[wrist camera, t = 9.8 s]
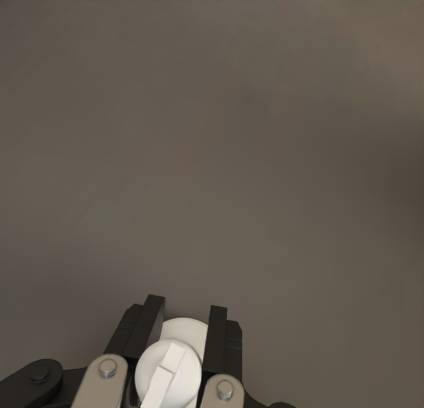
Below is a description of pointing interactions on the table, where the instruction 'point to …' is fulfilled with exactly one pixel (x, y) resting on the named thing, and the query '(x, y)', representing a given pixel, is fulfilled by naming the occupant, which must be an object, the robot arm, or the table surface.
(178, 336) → the chess piece
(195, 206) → the table surface
